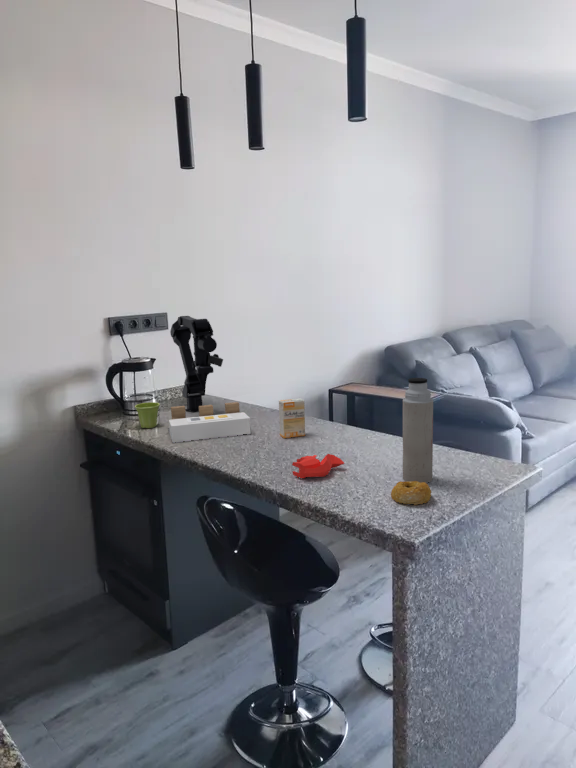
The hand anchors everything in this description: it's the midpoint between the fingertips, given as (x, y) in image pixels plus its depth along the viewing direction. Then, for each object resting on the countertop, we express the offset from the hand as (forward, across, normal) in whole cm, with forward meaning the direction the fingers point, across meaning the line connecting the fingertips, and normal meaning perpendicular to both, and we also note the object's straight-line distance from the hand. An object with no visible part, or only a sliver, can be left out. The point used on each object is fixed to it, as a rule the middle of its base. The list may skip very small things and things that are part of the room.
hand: (203, 387), depth 237 cm
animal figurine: (+12, -83, -20) cm, 86 cm away
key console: (+12, -26, +3) cm, 29 cm away
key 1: (+11, -20, +13) cm, 26 cm away
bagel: (+13, -110, -36) cm, 117 cm away
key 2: (+11, -23, -7) cm, 26 cm away
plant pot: (+12, -8, +23) cm, 28 cm away
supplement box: (+12, -44, -25) cm, 52 cm away
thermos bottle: (+12, -99, -44) cm, 109 cm away
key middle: (+11, -23, +3) cm, 26 cm away
